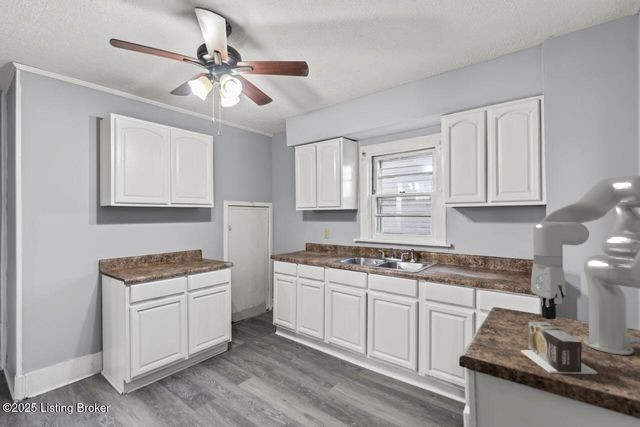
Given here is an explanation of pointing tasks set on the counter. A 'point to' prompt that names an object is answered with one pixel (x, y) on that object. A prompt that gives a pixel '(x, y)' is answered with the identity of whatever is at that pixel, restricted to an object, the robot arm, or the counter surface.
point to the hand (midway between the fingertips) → (548, 318)
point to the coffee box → (555, 347)
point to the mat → (550, 369)
